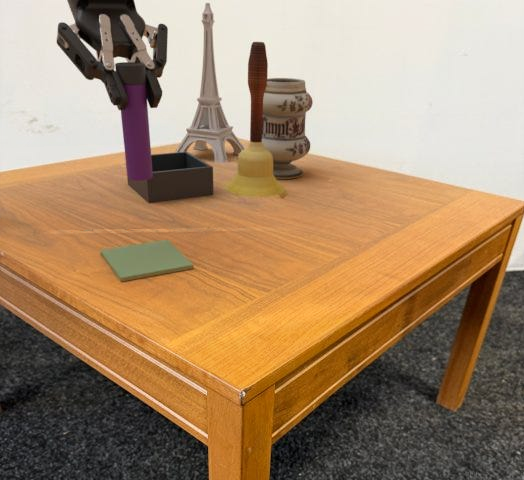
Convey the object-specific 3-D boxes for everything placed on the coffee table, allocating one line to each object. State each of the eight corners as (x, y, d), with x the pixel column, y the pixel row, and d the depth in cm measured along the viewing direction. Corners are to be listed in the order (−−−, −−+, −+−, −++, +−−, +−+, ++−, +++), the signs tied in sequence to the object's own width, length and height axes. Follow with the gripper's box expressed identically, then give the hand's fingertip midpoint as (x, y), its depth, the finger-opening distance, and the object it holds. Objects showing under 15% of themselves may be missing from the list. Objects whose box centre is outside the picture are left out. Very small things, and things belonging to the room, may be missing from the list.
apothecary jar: (265, 163, 123) (268, 74, 114) (315, 170, 119) (323, 79, 110) (242, 175, 114) (243, 79, 104) (296, 184, 110) (302, 85, 100)
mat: (121, 282, 70) (120, 277, 70) (100, 253, 78) (100, 249, 77) (193, 268, 74) (193, 264, 74) (167, 243, 82) (167, 239, 81)
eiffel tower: (197, 146, 135) (193, 2, 118) (247, 153, 131) (250, 4, 114) (170, 158, 124) (162, 1, 108) (224, 165, 120) (223, 4, 104)
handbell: (239, 179, 112) (240, 38, 98) (295, 187, 108) (305, 42, 94) (211, 195, 102) (208, 41, 89) (272, 205, 98) (279, 46, 85)
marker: (125, 181, 69) (113, 65, 62) (127, 173, 72) (116, 61, 65) (153, 180, 69) (144, 65, 62) (154, 173, 72) (145, 62, 65)
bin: (149, 207, 95) (146, 173, 92) (128, 188, 104) (125, 156, 101) (213, 199, 100) (213, 166, 97) (188, 181, 109) (187, 151, 106)
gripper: (33, -53, 60) (84, 85, 58) (154, -44, 66) (203, 80, 64) (30, 3, 66) (76, 129, 64) (141, 6, 73) (185, 120, 71)
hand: (140, 103), depth 64 cm, fingers closed on marker, 3 cm apart
